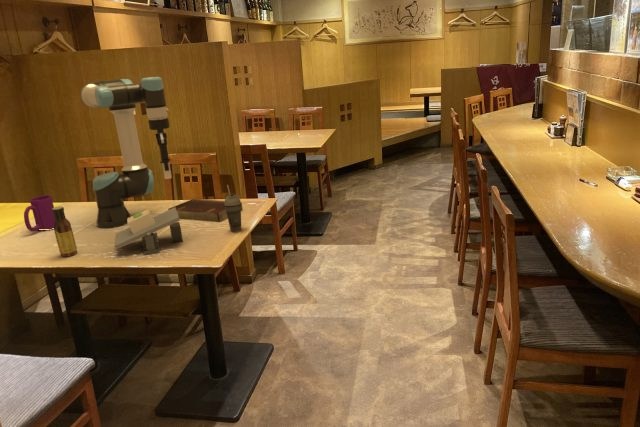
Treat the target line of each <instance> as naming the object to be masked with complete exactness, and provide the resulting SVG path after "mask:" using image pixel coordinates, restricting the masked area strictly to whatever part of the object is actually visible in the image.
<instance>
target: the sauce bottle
mask: <svg viewBox="0 0 640 427" xmlns="http://www.w3.org/2000/svg"><path fill="white" fill-rule="evenodd" d="M52 211H53V213H54V217H55V223H54V229H53V230H54V234H55V240H56V243H57V246H58V250H59V253H60V256H61V257H62V256H68V257H72V256H71V255H73V256H75V255H76V254H78V250H77V248H78V247H77V245H76V239H75V236H74V232H73V229H72V225H71V222H70V221H69V220H68V219H67V218H66V213H65V208H64V206H59V205H58V206H54V208H52Z"/></svg>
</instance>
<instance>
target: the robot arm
mask: <svg viewBox="0 0 640 427" xmlns="http://www.w3.org/2000/svg"><path fill="white" fill-rule="evenodd" d="M164 88H165V86H164V83H163V79H162V77H160V76H151V77H148V76H147V77H144V78H142V79H141V82H138V83H137V82H136V83H133V81H132V80H131V79H127V78H118V79H108V80H100V81H99V80H98V81H97V80H96V81H92V82H90V83H87V84H85V85H84V86H83V87H81V89H80V93H79V98H80V100H81V102H82V104H84V105H85V106H88V107H90V108H93V109H94V108H95V109H102V108H103V109H104V108H108V110H109V111H108V112H110V113H111V114H113V117H114V121H115V127H116V132H117V136H118V141H119V147H120V151H121V157H122V161H123V167H122V168H121V173H120V174H119V172H117V171H112V172H106V173H102V174H100V175H97V176H95V178H93V179H92V190H93V192H94V196H95V201H96V207H97V215H96V217H97V218H96V226H97V227H98V228H101V229H109V228H116V227H117V228H118V227H120V226H124V225H128V223H127V218H129V217H132V216H131V214H130V212H129V210H128V209H127V207H126V206H125V201H124V200H125V199H130V198H134V197H135V198H136V197H139V196H145V195H147V194H150V193H152V192H153V190H154V187H155V178H154V174H153V171H152V170H151V168H148V165H146V164H145V163H144V161H143V155H142V150H141V146H140V139H139V134H138V130H137V124H136V119H135V115H134V114H135V113H134V112H135V111H136V109H137V106H136V105H138V104H142V103H145V111H146V116H147V119H148V121H147V122H148V126H149V130H151V131H156V133H155V139H156V142H157V146H158V147H159V152H160V154H159V155H160V160H161V161H160V164H161V166H162V172H163V177H164V180H168V179H169V180H170V179H173V177H172V170H171V163H170V161H171V159H170V157H169V154H168V146H167V145H168V141H167V137H168V136H167V133H166V132H164V130H165V129H166V130H167V129H169V128H170V126H171V125H170V120H169V117H168V112H169V108H167V102H166V97H165V96H166V95H165V89H164Z"/></svg>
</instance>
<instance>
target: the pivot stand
mask: <svg viewBox="0 0 640 427" xmlns="http://www.w3.org/2000/svg"><path fill="white" fill-rule="evenodd" d="M169 231H170V235H171V241H172V244H177V243H183V242H184V240H183V234H182V229H181V224H180V222H179V221H178V222H175V223H173V224H171V225H169ZM158 237H159V236H158V233H157V231H156V232H153V233H151V235H147V236H145V237H142V238H141V239H142V251H143V256H147V255H153V254H159V253H161V250H160V245H159V244H160V243H159V239H158Z"/></svg>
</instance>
